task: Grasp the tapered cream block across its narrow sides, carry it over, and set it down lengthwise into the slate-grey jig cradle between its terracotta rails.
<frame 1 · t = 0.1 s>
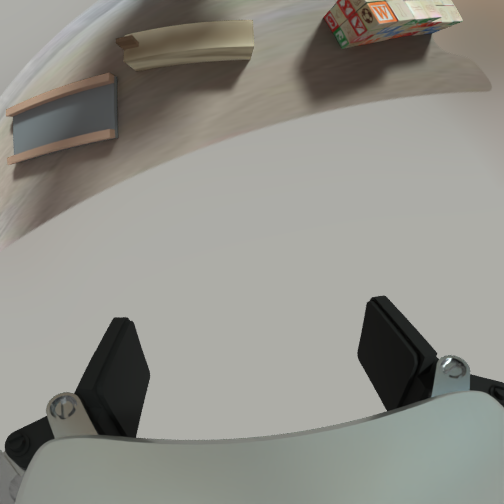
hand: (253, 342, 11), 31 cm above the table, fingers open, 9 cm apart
stack of blocks: (383, 23, 31), on the table
jig cradle: (60, 121, 33), on the table
tapered cream block: (192, 51, 32), on the table
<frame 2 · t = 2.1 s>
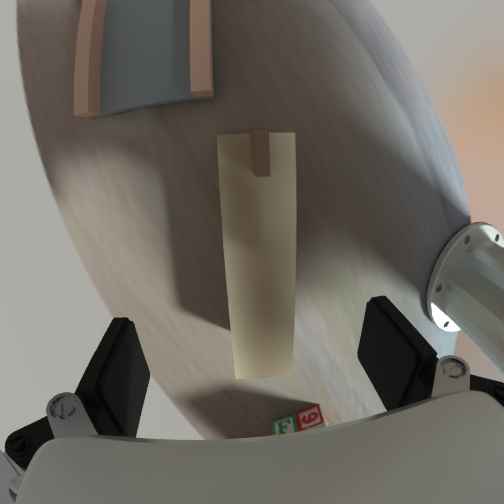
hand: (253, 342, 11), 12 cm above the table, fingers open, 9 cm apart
stack of blocks: (319, 444, 33), on the table
tapered cream block: (254, 244, 22), on the table
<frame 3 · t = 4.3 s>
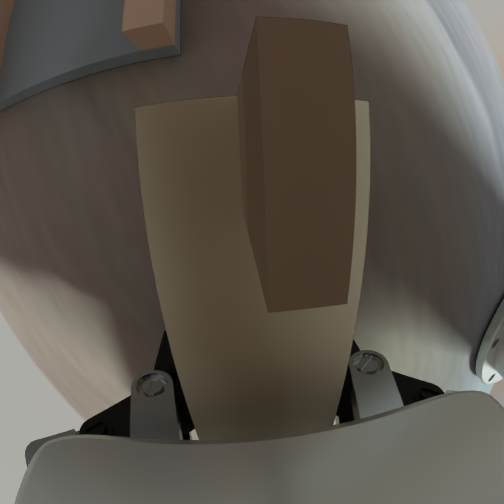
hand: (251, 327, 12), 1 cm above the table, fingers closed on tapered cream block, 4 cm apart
tapered cream block: (250, 316, 13), on the table, touching gripper
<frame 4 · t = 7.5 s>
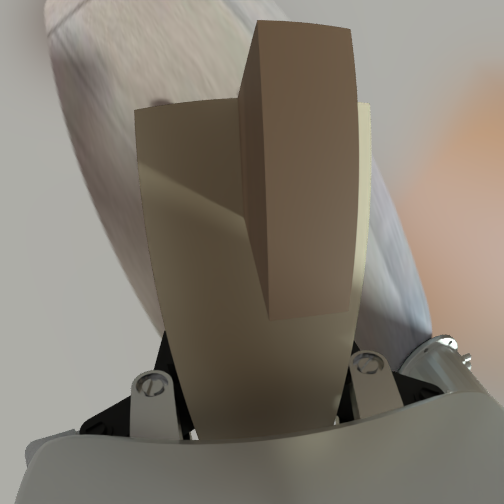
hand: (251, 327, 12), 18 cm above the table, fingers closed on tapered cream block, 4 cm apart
tapered cream block: (250, 317, 13), point 17 cm above the table, touching gripper
when the fingers open (3 cm above the table, at t = 11.0 s): tapered cream block drops 1 cm, resting on jig cradle.
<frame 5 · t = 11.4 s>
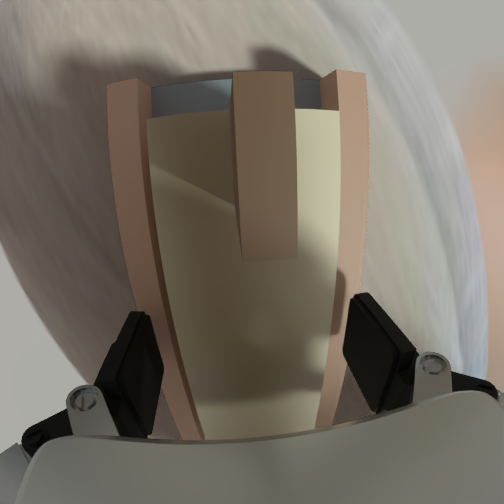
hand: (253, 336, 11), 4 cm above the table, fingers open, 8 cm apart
jig cradle: (246, 289, 15), on the table
tapered cream block: (245, 304, 14), point 1 cm above the table, touching jig cradle
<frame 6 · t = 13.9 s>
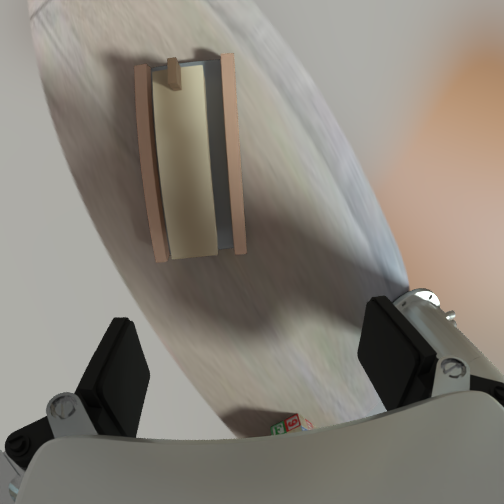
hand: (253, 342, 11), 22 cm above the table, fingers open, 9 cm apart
stack of blocks: (308, 435, 50), on the table
jig cradle: (192, 156, 28), on the table
tapered cream block: (190, 158, 27), point 1 cm above the table, touching jig cradle
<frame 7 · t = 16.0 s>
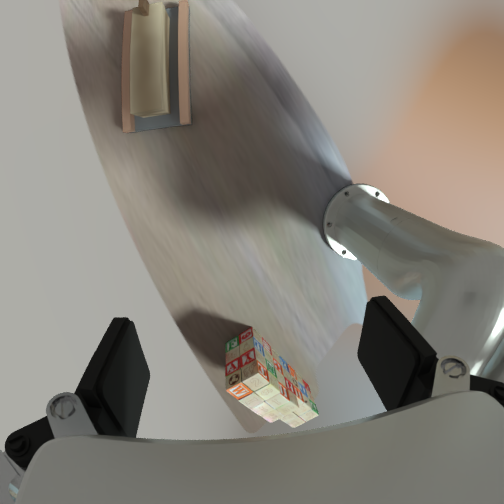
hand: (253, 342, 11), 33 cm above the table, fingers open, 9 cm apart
stack of blocks: (270, 365, 54), on the table
jig cradle: (158, 66, 34), on the table
tapered cream block: (155, 65, 33), point 1 cm above the table, touching jig cradle
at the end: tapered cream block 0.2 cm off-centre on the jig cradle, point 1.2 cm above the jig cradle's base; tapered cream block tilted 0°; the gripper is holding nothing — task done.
